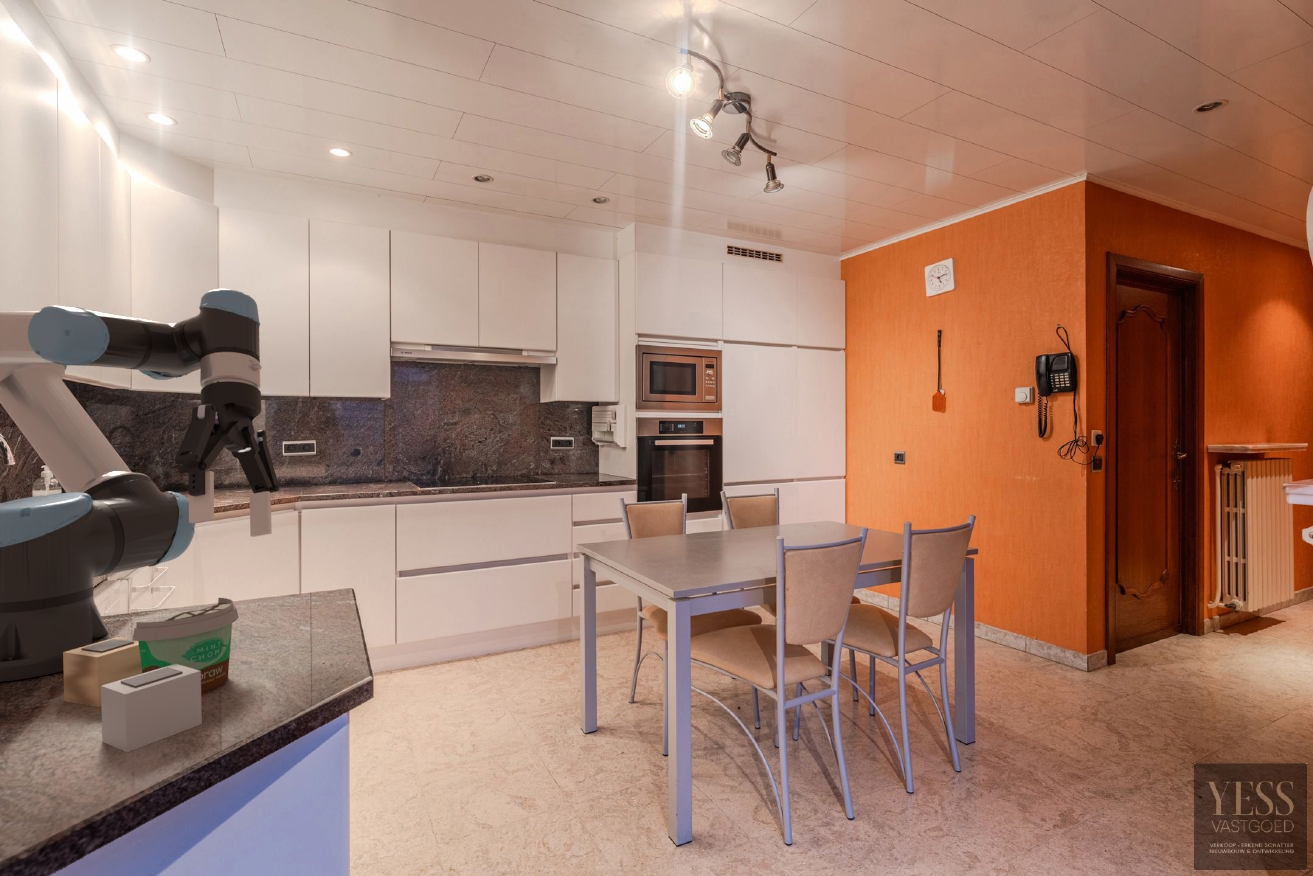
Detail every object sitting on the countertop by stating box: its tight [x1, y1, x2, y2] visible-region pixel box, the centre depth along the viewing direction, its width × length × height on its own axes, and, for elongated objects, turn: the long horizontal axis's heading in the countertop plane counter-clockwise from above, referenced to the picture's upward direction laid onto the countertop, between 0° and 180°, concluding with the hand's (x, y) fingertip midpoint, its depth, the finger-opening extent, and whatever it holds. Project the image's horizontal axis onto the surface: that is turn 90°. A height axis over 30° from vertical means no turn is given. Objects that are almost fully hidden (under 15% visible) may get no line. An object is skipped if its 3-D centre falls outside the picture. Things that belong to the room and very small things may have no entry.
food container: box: [131, 597, 239, 696], centre depth 81 cm, size 12×6×10 cm, turn 168°
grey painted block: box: [100, 664, 203, 753], centre depth 69 cm, size 5×7×6 cm
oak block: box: [63, 636, 142, 708], centre depth 80 cm, size 6×6×6 cm
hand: (233, 528), depth 90 cm, fingers open, 13 cm apart
